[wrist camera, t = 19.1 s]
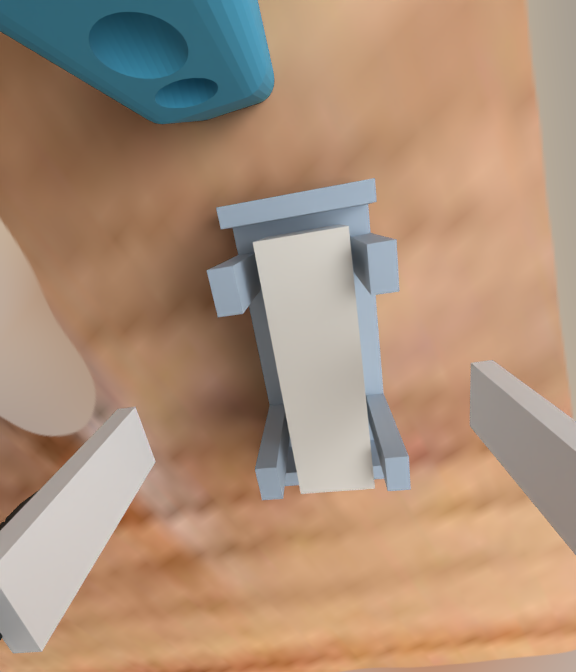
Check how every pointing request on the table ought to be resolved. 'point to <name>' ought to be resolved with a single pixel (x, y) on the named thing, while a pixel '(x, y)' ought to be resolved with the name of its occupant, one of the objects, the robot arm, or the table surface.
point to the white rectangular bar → (318, 355)
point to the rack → (370, 279)
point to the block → (153, 51)
